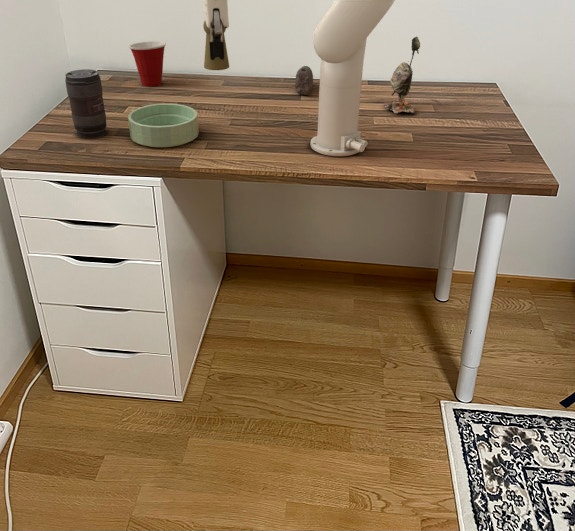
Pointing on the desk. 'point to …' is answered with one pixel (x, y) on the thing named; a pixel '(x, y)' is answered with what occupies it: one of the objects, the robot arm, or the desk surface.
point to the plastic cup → (149, 61)
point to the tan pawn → (217, 62)
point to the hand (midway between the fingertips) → (216, 56)
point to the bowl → (163, 125)
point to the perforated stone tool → (304, 80)
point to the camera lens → (86, 102)
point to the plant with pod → (403, 83)
